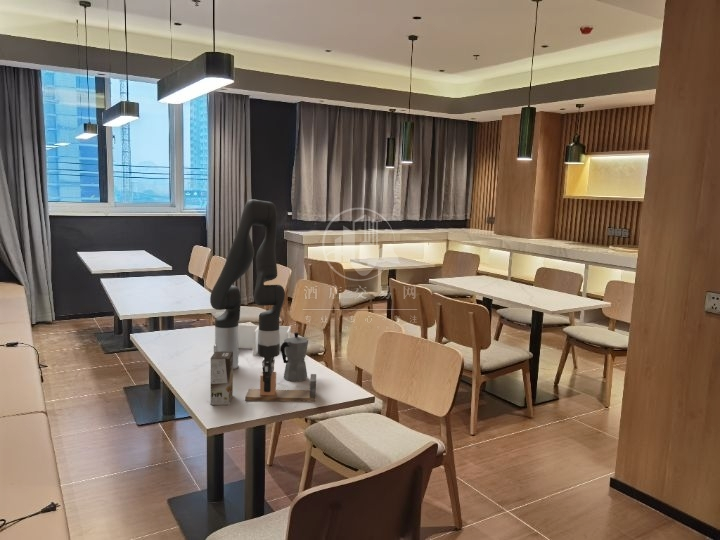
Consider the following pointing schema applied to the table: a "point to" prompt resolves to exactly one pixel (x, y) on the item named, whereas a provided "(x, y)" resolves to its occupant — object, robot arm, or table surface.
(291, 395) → the rail
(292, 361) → the coffeepot
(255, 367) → the table surface
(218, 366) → the coffee box
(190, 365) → the table surface
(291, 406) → the table surface
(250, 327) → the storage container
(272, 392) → the tan tall block
